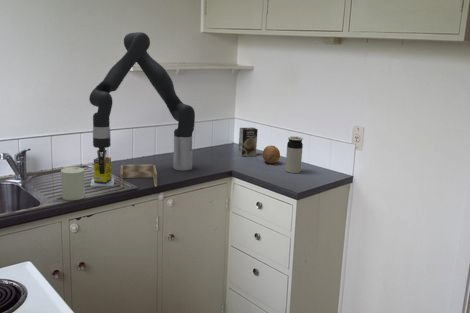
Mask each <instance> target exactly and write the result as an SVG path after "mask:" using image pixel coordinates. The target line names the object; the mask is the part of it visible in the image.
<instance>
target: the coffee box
mask: <svg viewBox="0 0 470 313" xmlns="http://www.w3.org/2000/svg"><path fill="white" fill-rule="evenodd" d="M238 134H239V135H238V136H239V137H238V147H237V148H238V149H237V150H238V151H237V154H238V155H239V156H240V157H241V156H242V157H243V156H248V157H256V156H257V142H258V129H257V128H255V127H239V133H238ZM243 158H244V157H243Z"/></svg>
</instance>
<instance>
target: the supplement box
mask: <svg viewBox="0 0 470 313" xmlns="http://www.w3.org/2000/svg"><path fill="white" fill-rule="evenodd" d="M100 163H103V161H100ZM98 164H99V161H98V157H96V158H95V159H94V158H93V179H94V183H103V184H107V183H108V182H109V181H111V178H112V157H108V156H106V161H105V166H104V167H105V173H104V174H100V173H99V165H98Z"/></svg>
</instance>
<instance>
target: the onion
mask: <svg viewBox="0 0 470 313" xmlns="http://www.w3.org/2000/svg"><path fill="white" fill-rule="evenodd" d="M261 156H262V159H263V160H264V162H265V163H268V164H275V163H277V162H278V161H279V160H280V159H281V158H280V157H281V152H280V149H279V148H278V147H277V146H275V145H267V146H265V148H264V149H263V150H262V155H261Z"/></svg>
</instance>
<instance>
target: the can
mask: <svg viewBox="0 0 470 313" xmlns="http://www.w3.org/2000/svg"><path fill="white" fill-rule="evenodd" d="M60 176H61V199H62V200H64V201H65V200H66V201H77V200H79V201H80V200H82V199H85V197H86V192H85V189H86V188H85V168H83V167H79V166H70V167H68V166H67V167H64V168H62V169H61V170H60Z"/></svg>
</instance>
